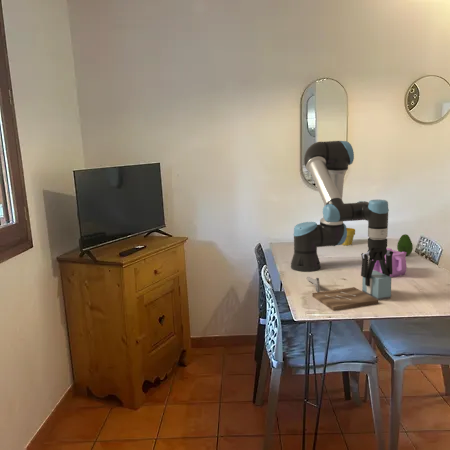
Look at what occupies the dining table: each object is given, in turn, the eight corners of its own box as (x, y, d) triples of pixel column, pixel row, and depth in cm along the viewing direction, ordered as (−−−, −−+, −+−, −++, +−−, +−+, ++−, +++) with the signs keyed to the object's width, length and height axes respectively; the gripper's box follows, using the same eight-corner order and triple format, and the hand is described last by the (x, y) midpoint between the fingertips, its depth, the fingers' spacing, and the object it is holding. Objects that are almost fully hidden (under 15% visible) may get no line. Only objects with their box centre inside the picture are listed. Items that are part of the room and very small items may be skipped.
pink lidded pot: (368, 277, 204) (369, 251, 201) (369, 267, 219) (370, 243, 217) (407, 279, 198) (408, 253, 195) (405, 269, 213) (406, 245, 211)
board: (312, 296, 180) (312, 293, 180) (354, 290, 186) (354, 287, 185) (333, 310, 164) (333, 306, 164) (378, 303, 170) (378, 299, 169)
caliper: (319, 292, 185) (319, 278, 184) (317, 293, 185) (317, 279, 184) (308, 278, 205) (308, 266, 204) (306, 278, 205) (306, 266, 204)
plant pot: (357, 243, 272) (357, 228, 271) (352, 246, 264) (352, 231, 262) (340, 241, 278) (341, 227, 276) (335, 245, 269) (335, 230, 267)
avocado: (405, 253, 244) (406, 232, 242) (415, 256, 237) (416, 234, 235) (393, 254, 242) (394, 233, 240) (403, 257, 234) (404, 236, 232)
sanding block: (362, 292, 183) (362, 271, 182) (374, 290, 185) (374, 270, 183) (378, 300, 173) (378, 279, 171) (390, 298, 174) (391, 277, 173)
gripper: (362, 241, 168) (361, 297, 173) (403, 237, 173) (401, 291, 178) (351, 238, 176) (351, 292, 180) (391, 234, 181) (390, 286, 185)
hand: (376, 291), depth 179 cm, fingers closed on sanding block, 6 cm apart
